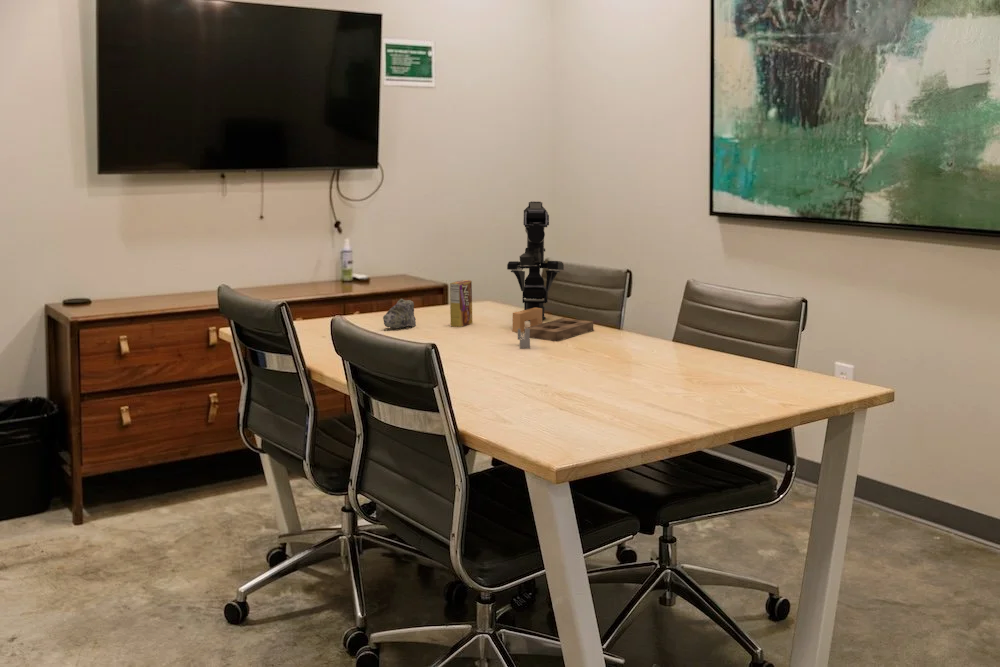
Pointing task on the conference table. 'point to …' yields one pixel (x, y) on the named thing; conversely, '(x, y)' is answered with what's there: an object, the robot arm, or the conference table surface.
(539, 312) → the orange brown flat block
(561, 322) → the wooden board with recesses
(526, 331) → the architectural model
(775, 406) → the conference table surface
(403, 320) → the mineral rock
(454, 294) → the candy box
